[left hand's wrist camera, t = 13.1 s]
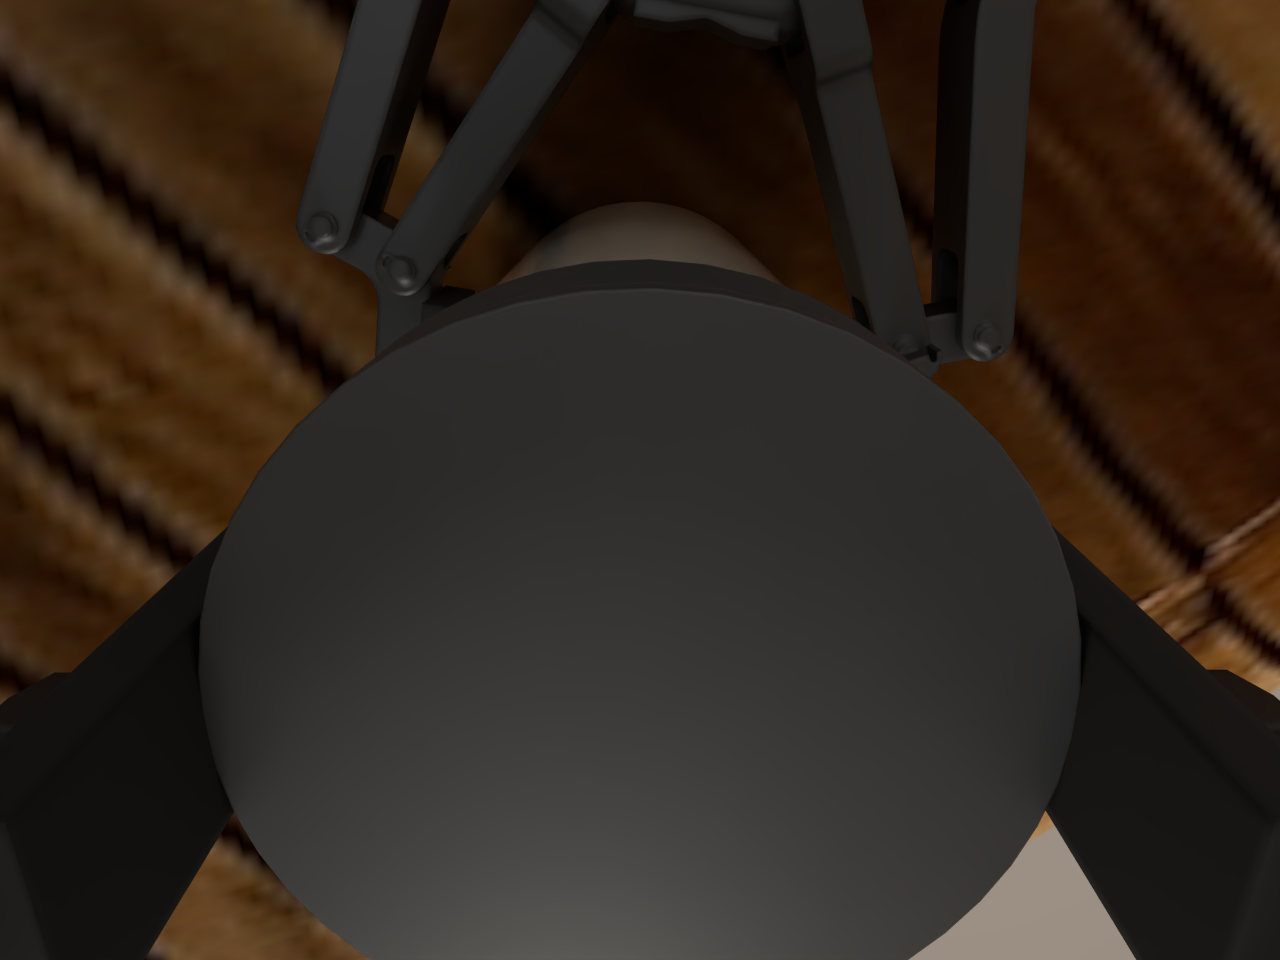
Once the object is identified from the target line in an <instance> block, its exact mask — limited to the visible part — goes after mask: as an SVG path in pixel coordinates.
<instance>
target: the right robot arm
mask: <svg viewBox="0 0 1280 960" xmlns="http://www.w3.org/2000/svg"><path fill="white" fill-rule="evenodd" d="M1037 1H1038V0H947V1H946V5H945V9H944V15H943V20H942V25H941V33H940V45H939V67H938V99H937V130H936V162H935V193H934V225H933V256H932V288H931V303H930V304H924V305H923V302H922V298H921V293H920V289H919V284H918V280H917V275H916V271H915V266H914V262H913V257H912V253H911V248H910V244H909V239H908V235H907V230H906V226H905V221H904V217H903V212H902V208H901V203H900V199H899V194H898V190H897V185H896V181H895V176H894V172H893V167H892V163H891V158H890V154H889V149H888V145H887V140H886V136H885V131H884V127H883V122H882V118H881V113H880V109H879V104H878V100H877V95H876V91H875V86H874V82H873V76H872V63H873V52H872V45H871V39H870V35H869V30H868V25H867V21H866V16H865V12H864V7H863V3H862V0H537V1H536V4H535V6H534V9H533V11H532V13H531V14H530V16H529V18H528V19H527V21H526V22H525V24H524V25H523V27H522V29H521V30H520V32H519V33H518V35H517V36H516V38H515V40H514V41H513V43H512V44H511V46H510V47H509V49H508V51H507V52H506V54H505V55H504V57H503V58H502V60H501V62H500V63H499V65H498V66H497V68H496V69H495V71H494V73H493V74H492V76H491V77H490V79H489V80H488V82H487V84H486V85H485V87H484V88H483V90H482V91H481V93H480V95H479V96H478V98H477V99H476V101H475V102H474V104H473V106H472V107H471V109H470V110H469V112H468V113H467V115H466V117H465V118H464V120H463V121H462V123H461V124H460V126H459V128H458V129H457V131H456V132H455V134H454V136H453V137H452V139H451V140H450V142H449V143H448V145H447V147H446V148H445V150H444V151H443V153H442V154H441V156H440V158H439V159H438V161H437V162H436V164H435V165H434V167H433V169H432V170H431V172H430V173H429V175H428V176H427V178H426V180H425V181H424V183H423V184H422V186H421V187H420V189H419V191H418V192H417V194H416V195H415V197H414V198H413V200H412V202H411V203H410V205H409V206H408V208H407V209H406V211H405V213H404V214H403V216H402V217H401V219H400V220H398V219H396V218H395V217H393V216H391V215H389V214H387V213H386V212H384V208H385V205H386V202H387V199H388V196H389V192H390V189H391V186H392V183H393V180H394V177H395V173H396V170H397V167H398V164H399V161H400V158H401V154H402V151H403V148H404V145H405V142H406V139H407V136H408V132H409V129H410V126H411V123H412V120H413V117H414V113H415V110H416V107H417V104H418V101H419V98H420V94H421V91H422V88H423V85H424V82H425V79H426V75H427V72H428V69H429V66H430V63H431V60H432V56H433V53H434V50H435V47H436V44H437V41H438V38H439V34H440V31H441V28H442V25H443V22H444V19H445V15H446V12H447V9H448V6H449V3H450V0H358V2H357V5H356V9H355V12H354V16H353V19H352V23H351V27H350V30H349V34H348V37H347V41H346V44H345V48H344V51H343V55H342V58H341V62H340V65H339V69H338V72H337V76H336V80H335V83H334V87H333V90H332V94H331V97H330V101H329V104H328V108H327V111H326V115H325V118H324V122H323V125H322V129H321V133H320V136H319V140H318V143H317V147H316V150H315V154H314V157H313V161H312V164H311V168H310V171H309V175H308V178H307V182H306V185H305V189H304V193H303V196H302V200H301V203H300V207H299V210H298V214H297V221H296V228H297V231H298V234H299V237H300V239H301V240H302V241H303V243H304V244H305V245H306V246H307V247H308V248H310V249H311V250H313V251H314V252H317V253H322V254H332V255H334V256H335V257H337V258H339V259H341V260H343V261H345V262H347V263H348V264H350V265H352V266H354V267H356V268H358V269H359V270H361V271H362V272H363V273H365V274H366V275H367V276H368V277H369V279H370V280H371V281H372V283H373V285H374V286H375V289H376V292H377V295H378V317H377V334H376V352H375V356H377V355H379V354H380V353H381V352H382V351H384V350H385V349H386V348H387V347H388V346H390V345H391V344H392V343H393V342H395V341H396V340H397V339H399V338H400V337H402V336H403V335H405V334H406V333H408V332H409V331H411V330H412V329H414V328H415V327H417V326H418V325H420V324H421V323H423V322H424V321H426V320H427V319H429V318H430V317H432V316H433V315H435V314H436V313H438V312H439V311H441V310H443V309H445V308H447V307H449V306H451V305H454V304H456V303H458V302H460V301H462V300H464V299H466V298H468V297H470V296H472V295H474V294H475V290H469V289H463V288H457V287H451V286H445V287H444V288H442V287H443V275H444V273H446V272H447V271H448V270H449V269H450V268H451V267H450V266H449V265H450V263H451V262H452V260H453V259H454V257H455V256H456V254H457V253H458V251H459V250H460V248H461V247H462V245H463V244H464V242H465V241H466V239H467V238H468V236H469V235H470V233H471V232H472V230H473V229H474V227H475V226H476V224H477V223H478V221H479V220H480V218H481V217H482V215H483V214H484V212H485V211H486V209H487V208H488V206H489V205H490V203H491V202H492V200H493V199H494V197H495V196H496V194H497V193H498V191H499V190H500V188H501V187H502V185H503V184H504V182H505V181H506V179H507V178H508V176H509V175H510V173H511V172H512V170H513V169H514V167H515V166H516V164H517V163H518V161H519V160H520V158H521V157H522V155H523V154H524V152H525V151H526V149H527V148H528V146H529V145H530V143H531V142H532V140H533V139H534V137H535V136H536V134H537V133H538V131H539V130H540V128H541V127H542V125H543V124H544V122H545V121H546V119H547V118H548V116H549V115H550V113H551V112H552V110H553V109H554V107H555V106H556V104H557V103H558V101H559V100H560V98H561V97H562V95H563V94H564V92H565V91H566V89H567V88H568V86H569V85H570V83H571V82H572V80H573V79H574V77H575V76H576V74H577V73H578V71H579V70H580V68H581V67H582V65H583V64H584V62H585V61H586V60H587V58H588V57H589V56H590V55H591V54H592V53H593V51H594V50H595V49H596V47H597V46H598V45H599V43H600V42H601V40H602V39H603V37H604V36H605V34H606V33H607V31H608V30H609V28H610V27H611V25H612V24H613V22H614V21H615V19H616V18H617V16H618V15H619V14H620V15H622V16H623V17H624V18H626V19H628V20H630V21H632V22H633V23H634V27H636V28H642V29H647V30H653V31H658V32H663V33H671V32H680V31H689V30H697V29H701V30H704V31H706V32H708V33H710V34H712V35H714V36H716V37H718V38H720V39H722V40H724V41H726V42H728V43H730V44H732V45H735V46H740V47H746V48H751V49H757V50H762V51H766V50H767V49H768V48H770V47H774V46H779V45H781V48H782V52H783V56H784V60H785V64H786V68H787V72H788V76H789V79H790V82H791V85H792V88H793V90H794V91H795V93H796V95H797V98H798V101H799V105H800V109H801V113H802V117H803V121H804V125H805V129H806V133H807V137H808V141H809V145H810V149H811V153H812V157H813V161H814V165H815V168H816V172H817V176H818V180H819V184H820V188H821V192H822V196H823V200H824V204H825V208H826V212H827V216H828V220H829V224H830V228H831V232H832V236H833V240H834V244H835V248H836V252H837V256H838V260H839V264H840V268H841V272H842V276H843V280H844V284H845V288H846V292H847V296H848V300H849V304H850V308H851V312H852V316H853V320H855V321H857V322H858V323H860V324H861V325H862V326H864V327H865V328H866V329H868V330H869V331H870V332H872V333H873V334H874V335H876V336H877V337H878V338H880V339H881V340H882V341H884V342H885V343H886V344H888V345H889V346H890V347H892V348H893V349H894V350H896V351H897V352H898V353H900V354H901V355H902V356H903V357H905V358H906V359H907V360H908V361H910V362H911V363H912V364H913V365H914V366H916V367H917V368H918V369H919V370H921V371H922V372H923V373H924V374H926V375H927V376H928V377H929V378H930V379H931V378H932V377H933V375H934V374H935V373H936V372H937V371H938V369H939V367H940V364H943V363H948V362H954V361H959V360H965V359H970V358H973V359H975V360H977V361H985V362H987V361H990V360H994V359H997V358H998V357H1000V356H1001V355H1002V354H1004V353H1005V352H1006V350H1007V349H1008V348H1009V346H1010V345H1011V342H1012V338H1013V333H1014V318H1015V303H1016V288H1017V273H1018V258H1019V242H1020V227H1021V212H1022V197H1023V182H1024V167H1025V152H1026V136H1027V121H1028V106H1029V91H1030V76H1031V61H1032V45H1033V30H1034V15H1035V6H1036V3H1037Z"/></svg>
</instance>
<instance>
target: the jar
mask: <svg viewBox="0 0 1280 960" xmlns="http://www.w3.org/2000/svg"><path fill="white" fill-rule="evenodd" d="M641 259H654V260H665V261H676V262H687V263H698V264H707V265H711V266H716V267H720V268H724V269H729V270H733V271H737V272H742V273H746V274H750V275H755V276H759V277H762V278H764V279H767V280H770V281H772V282H775V283H778V284H780V285H783V284H782V283H781V282H780V281H779V280H778V279H777V278H776V277H775V276H774V275H773V274H772V273H771V272H770V271H769V270H768V269H767V268H766V267H765V266H764V265H763V264H762V263H761V262H760V261H759V260H758V259H757V258H756V257H755V256H754V255H753V254H752V253H751V252H750V251H749V250H748V249H747V248H746V247H745V246H744V245H743V244H741V243H740V242H739V241H738V240H737V239H736V238H735V237H734V236H733V235H731V234H730V233H729V232H727V231H726V230H725V229H724V228H722V227H721V226H719V225H718V224H716V223H714V222H712V221H711V220H709V219H707V218H706V217H704V216H701V215H699V214H697V213H694V212H692V211H689V210H687V209H684V208H680V207H676V206H672V205H668V204H662V203H653V202H624V203H617V204H611V205H606V206H602V207H599V208H596V209H592V210H589V211H586V212H584V213H582V214H580V215H578V216H576V217H573V218H571V219H569V220H568V221H566V222H564V223H563V224H561V225H560V226H558V227H557V228H555V229H553V230H552V231H551V232H550V233H549V234H547V235H546V236H545V237H544V238H543V239H542V240H540V241H539V242H538V243H537V244H536V245H535V246H534V247H533V248H532V249H531V250H530V251H529V252H528V253H527V254H526V255H525V256H524V257H523V258H522V259H521V260H520V261H519V262H518V263H517V264H516V265H515V266H514V267H513V268H512V269H511V270H510V271H509V272H508V273H507V274H506V275H505V276H504V277H503V278H502V279H501V280H500V281H499V282H498V283H497V284H496V285H499V284H502V283H505V282H508V281H511V280H514V279H517V278H520V277H523V276H526V275H530V274H533V273H536V272H539V271H544V270H549V269H555V268H561V267H566V266H572V265H577V264H583V263H589V262H594V261H618V260H641ZM496 285H495V286H496ZM783 286H784V285H783Z"/></svg>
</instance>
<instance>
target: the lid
mask: <svg viewBox="0 0 1280 960" xmlns="http://www.w3.org/2000/svg"><path fill="white" fill-rule="evenodd" d="M198 680H199V690H200V697H201V703H202V708H203V713H204V719H205V724H206V728H207V732H208V737H209V741H210V746H211V750H212V755H213V759H214V764H215V768H216V771H217V773H218V775H219V778H220V780H221V782H222V785H223V787H224V789H225V792H226V794H227V797H228V799H229V801H230V804H231V806H232V808H233V811H234V812H235V814H236V816H237V817H238V819H239V821H240V822H241V824H242V826H243V827H244V829H245V831H246V832H247V834H248V836H249V837H250V839H251V841H252V843H253V844H254V846H255V848H256V849H257V851H258V852H259V854H260V855H261V856H262V857H263V859H264V860H265V861H266V862H267V864H268V865H269V866H270V868H271V869H272V870H273V871H274V873H275V874H276V875H277V876H278V878H279V879H280V880H281V881H282V883H283V884H284V885H285V886H286V888H287V889H288V890H289V891H290V892H291V893H292V894H293V895H294V896H295V897H296V898H297V899H298V900H299V901H300V902H301V903H302V904H303V905H304V906H305V907H306V908H307V909H308V910H309V911H310V912H311V913H312V914H313V915H314V916H315V917H316V918H317V919H318V920H319V921H320V922H321V923H323V924H324V925H325V926H327V927H328V928H329V929H330V930H332V931H333V932H334V933H336V934H337V935H338V936H339V937H341V938H342V939H343V940H344V941H346V942H347V943H348V944H350V945H351V946H352V947H353V948H355V949H356V950H357V951H359V952H360V953H362V954H363V955H365V956H367V957H368V958H370V959H371V960H908V959H910V958H911V957H913V956H914V955H915V954H917V953H918V952H920V951H921V950H922V949H924V948H925V947H927V946H928V945H929V944H931V943H932V942H934V941H935V940H936V939H938V938H939V937H940V936H942V935H943V934H945V933H946V932H947V931H948V930H949V929H950V928H951V927H952V926H953V925H955V924H956V923H957V922H958V921H959V920H960V919H961V918H962V917H963V916H965V915H966V914H967V913H968V912H969V911H970V910H971V909H972V908H973V907H975V906H976V905H977V904H978V903H979V902H980V901H981V900H982V899H983V898H984V896H985V895H986V894H987V893H988V892H989V891H990V889H991V888H992V887H993V886H994V885H995V884H996V882H997V881H998V880H999V879H1000V878H1001V877H1002V876H1003V874H1004V873H1005V872H1006V871H1007V870H1008V869H1009V868H1010V866H1011V865H1012V864H1013V862H1014V861H1015V859H1016V858H1017V856H1018V855H1019V853H1020V852H1021V850H1022V849H1023V847H1024V846H1025V844H1026V843H1027V841H1028V840H1029V838H1030V837H1031V835H1032V834H1033V832H1034V831H1035V829H1036V828H1037V826H1038V824H1039V822H1040V820H1041V818H1042V816H1043V814H1044V812H1045V810H1046V808H1047V806H1048V804H1049V802H1050V800H1051V797H1052V795H1053V793H1054V791H1055V789H1056V787H1057V785H1058V783H1059V780H1060V777H1061V774H1062V771H1063V767H1064V764H1065V761H1066V758H1067V754H1068V750H1069V746H1070V742H1071V737H1072V732H1073V727H1074V722H1075V717H1076V712H1077V707H1078V702H1079V697H1080V692H1081V634H1080V627H1079V620H1078V614H1077V607H1076V601H1075V594H1074V588H1073V585H1072V581H1071V578H1070V575H1069V572H1068V569H1067V566H1066V563H1065V560H1064V557H1063V554H1062V550H1061V547H1060V544H1059V541H1058V538H1057V536H1056V534H1055V532H1054V530H1053V528H1052V526H1051V524H1050V522H1049V520H1048V518H1047V516H1046V514H1045V512H1044V510H1043V508H1042V506H1041V504H1040V502H1039V501H1038V499H1037V497H1036V495H1035V493H1034V491H1033V489H1032V487H1031V486H1030V485H1029V483H1028V482H1027V480H1026V479H1025V478H1024V476H1023V475H1022V474H1021V472H1020V471H1019V469H1018V468H1017V467H1016V465H1015V464H1014V463H1013V461H1012V460H1011V458H1010V457H1009V456H1008V454H1007V453H1006V452H1005V450H1004V449H1003V447H1002V446H1001V445H1000V443H999V442H998V441H997V440H996V439H995V438H994V437H993V436H992V435H991V434H990V433H989V432H988V431H987V430H986V429H985V428H984V427H983V426H982V425H981V424H980V423H979V422H978V421H977V420H976V419H975V418H974V417H973V416H972V415H971V414H970V413H969V412H968V411H967V410H966V409H965V408H964V407H963V406H962V405H961V404H960V403H959V402H958V401H957V400H956V399H955V398H954V397H953V396H951V395H950V394H949V393H948V392H946V391H945V390H944V389H943V388H942V387H940V386H939V385H938V384H937V383H935V382H934V381H933V380H932V379H930V378H929V377H928V376H927V375H926V374H924V373H923V372H922V371H921V370H919V369H918V368H917V367H916V366H914V365H913V364H912V363H911V362H910V361H908V360H907V359H906V358H905V357H903V356H902V355H901V354H900V353H898V352H897V351H896V350H894V349H893V348H892V347H890V346H889V345H888V344H886V343H885V342H884V341H882V340H881V339H880V338H878V337H877V336H876V335H874V334H873V333H872V332H870V331H869V330H868V329H866V328H865V327H864V326H862V325H861V324H860V323H858V322H857V321H855V320H853V319H852V318H850V317H848V316H846V315H844V314H842V313H841V312H839V311H837V310H835V309H833V308H832V307H830V306H828V305H826V304H824V303H822V302H821V301H819V300H817V299H815V298H813V297H811V296H809V295H807V294H804V293H801V292H799V291H796V290H793V289H791V288H788V287H786V286H783V285H780V284H778V283H775V282H772V281H770V280H767V279H764V278H762V277H759V276H755V275H750V274H746V273H742V272H737V271H733V270H729V269H724V268H720V267H716V266H711V265H707V264H698V263H687V262H676V261H665V260H654V259H641V260H618V261H594V262H589V263H583V264H577V265H572V266H566V267H561V268H555V269H549V270H544V271H539V272H536V273H533V274H530V275H526V276H523V277H520V278H517V279H514V280H511V281H508V282H505V283H502V284H499V285H496V286H492V287H489V288H487V289H485V290H483V291H480V292H478V293H476V294H474V295H472V296H470V297H468V298H466V299H464V300H462V301H460V302H458V303H456V304H454V305H451V306H449V307H447V308H445V309H443V310H441V311H439V312H438V313H436V314H435V315H433V316H432V317H430V318H429V319H427V320H426V321H424V322H423V323H421V324H420V325H418V326H417V327H415V328H414V329H412V330H411V331H409V332H408V333H406V334H405V335H403V336H402V337H400V338H399V339H397V340H396V341H395V342H393V343H392V344H391V345H390V346H388V347H387V348H386V349H385V350H384V351H382V352H381V353H380V354H379V355H377V356H376V357H375V358H374V359H373V360H371V361H370V362H369V363H368V364H366V365H365V366H364V367H363V368H361V369H360V370H359V371H358V372H357V373H355V374H354V375H353V376H352V377H351V378H349V379H348V380H347V381H346V382H344V383H343V384H342V385H341V386H340V387H338V388H337V389H336V390H335V391H334V392H333V393H332V394H331V395H330V396H328V397H327V398H326V399H325V400H324V401H323V402H322V403H321V404H320V405H318V406H317V407H316V408H315V409H314V410H313V411H312V412H311V413H310V414H309V415H307V416H306V417H305V418H304V419H303V420H302V421H301V422H300V423H299V424H297V425H296V426H295V427H294V429H293V430H292V431H291V432H290V434H289V435H288V436H287V437H286V439H285V440H284V441H283V442H282V443H281V445H280V446H279V447H278V448H277V450H276V451H275V452H274V453H273V454H272V456H271V457H270V458H269V459H268V461H267V462H266V463H265V464H264V465H263V467H262V468H261V469H260V470H259V472H258V473H257V475H256V477H255V478H254V480H253V482H252V484H251V485H250V487H249V489H248V490H247V492H246V494H245V496H244V497H243V499H242V501H241V502H240V504H239V506H238V508H237V509H236V511H235V513H234V514H233V516H232V518H231V520H230V522H229V525H228V527H227V530H226V532H225V535H224V538H223V540H222V543H221V545H220V548H219V550H218V553H217V556H216V558H215V561H214V563H213V566H212V568H211V572H210V577H209V582H208V586H207V591H206V596H205V600H204V605H203V610H202V614H201V619H200V635H199V654H198Z"/></svg>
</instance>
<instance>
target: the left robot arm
mask: <svg viewBox="0 0 1280 960" xmlns="http://www.w3.org/2000/svg"><path fill="white" fill-rule="evenodd" d="M1051 526H1052V525H1051ZM1052 528H1053V530H1054V532H1055V534H1056V536H1057V538H1058V541H1059V544H1060V547H1061V550H1062V554H1063V557H1064V560H1065V563H1066V566H1067V569H1068V572H1069V575H1070V578H1071V581H1072V585H1073V588H1074V594H1075V601H1076V607H1077V614H1078V620H1079V627H1080V634H1081V692H1080V697H1079V702H1078V707H1077V712H1076V717H1075V722H1074V727H1073V732H1072V737H1071V742H1070V746H1069V750H1068V754H1067V758H1066V761H1065V764H1064V767H1063V771H1062V774H1061V777H1060V780H1059V783H1058V785H1057V787H1056V789H1055V791H1054V793H1053V795H1052V797H1051V800H1050V802H1049V804H1048V806H1047V808H1046V812H1047V813H1048V815H1049V817H1050V818H1051V820H1052V822H1053V823H1054V825H1055V826H1056V828H1057V830H1058V831H1059V833H1060V835H1061V836H1062V838H1063V840H1064V841H1065V843H1066V845H1067V846H1068V848H1069V850H1070V851H1071V853H1072V854H1073V856H1074V858H1075V859H1076V861H1077V863H1078V864H1079V866H1080V868H1081V869H1082V871H1083V873H1084V874H1085V876H1086V878H1087V879H1088V881H1089V883H1090V884H1091V886H1092V887H1093V889H1094V891H1095V892H1096V894H1097V896H1098V897H1099V899H1100V901H1101V902H1102V904H1103V906H1104V907H1105V909H1106V910H1107V912H1108V914H1109V915H1110V917H1111V919H1112V920H1113V922H1114V924H1115V925H1116V927H1117V929H1118V930H1119V932H1120V934H1121V935H1122V937H1123V939H1124V940H1125V942H1126V943H1127V945H1128V947H1129V948H1130V950H1131V952H1132V953H1133V955H1134V957H1135V958H1136V960H1280V701H1279V700H1278V699H1277V698H1276V697H1275V696H1274V695H1272V694H1270V693H1268V692H1267V691H1265V690H1263V689H1261V688H1259V687H1257V686H1256V685H1254V684H1252V683H1250V682H1248V681H1246V680H1245V679H1243V678H1241V677H1239V676H1237V675H1235V674H1234V673H1232V672H1230V671H1228V670H1206V669H1205V668H1204V667H1203V666H1202V665H1201V664H1200V663H1199V662H1198V661H1197V660H1195V659H1194V658H1193V657H1192V656H1191V655H1190V654H1189V653H1188V652H1187V651H1186V650H1185V649H1184V648H1183V647H1182V646H1180V645H1179V644H1178V643H1177V642H1176V641H1175V640H1174V639H1173V638H1172V637H1171V636H1170V635H1169V634H1168V633H1166V632H1165V631H1164V630H1163V629H1162V628H1161V627H1160V626H1159V625H1158V624H1157V623H1156V622H1155V621H1154V620H1153V619H1151V618H1150V617H1149V616H1148V615H1147V614H1146V613H1145V612H1144V611H1143V610H1142V609H1141V608H1140V607H1139V606H1137V605H1136V604H1135V603H1134V602H1133V601H1132V600H1131V599H1130V598H1129V597H1128V596H1127V595H1126V594H1125V593H1124V592H1122V591H1121V590H1120V589H1119V588H1118V587H1117V586H1116V585H1115V584H1114V583H1113V582H1112V581H1111V580H1110V579H1109V578H1107V577H1106V576H1105V575H1104V574H1103V573H1102V572H1101V571H1100V570H1099V569H1098V568H1097V567H1096V566H1095V565H1093V564H1092V563H1091V562H1090V561H1089V560H1088V559H1087V558H1086V557H1085V556H1084V555H1083V554H1082V553H1081V552H1080V551H1078V550H1077V549H1076V548H1075V547H1074V546H1073V545H1072V544H1071V543H1070V542H1069V541H1068V540H1067V539H1066V538H1064V537H1063V536H1062V535H1061V534H1060V533H1059V532H1058V531H1057V530H1056V529H1055V528H1054V527H1053V526H1052ZM226 530H227V528H226V529H225V530H224V531H222V532H221V533H220V534H219V535H218V536H217V537H216V538H215V539H214V540H213V541H212V542H211V543H210V544H208V545H207V546H206V547H205V548H204V549H203V550H202V551H201V552H200V553H199V554H198V555H197V556H196V557H195V558H193V559H192V560H191V561H190V562H189V563H188V564H187V565H186V566H185V567H184V568H183V569H182V570H181V571H180V572H178V573H177V574H176V575H175V576H174V577H173V578H172V579H171V580H170V581H169V582H168V583H167V584H166V585H164V586H163V587H162V588H161V589H160V590H159V591H158V592H157V593H156V594H155V595H154V596H153V597H152V598H151V599H149V600H148V601H147V602H146V603H145V604H144V605H143V606H142V607H141V608H140V609H139V610H138V611H137V612H136V613H134V614H133V615H132V616H131V617H130V618H129V619H128V620H127V621H126V622H125V623H124V624H123V625H122V626H120V627H119V628H118V629H117V630H116V631H115V632H114V633H113V634H112V635H111V636H110V637H109V638H108V639H107V640H105V641H104V642H103V643H102V644H101V645H100V646H99V647H98V648H97V649H96V650H95V651H94V652H93V653H91V654H90V655H89V656H88V657H87V658H86V659H85V660H84V661H83V662H82V663H81V664H80V665H79V666H78V667H76V668H75V669H74V670H73V671H72V672H71V673H53V674H51V675H49V676H48V677H46V678H44V679H42V680H40V681H39V682H37V683H35V684H33V685H31V686H30V687H28V688H26V689H24V690H22V691H20V692H19V693H17V694H15V695H13V696H11V697H10V698H8V699H7V700H6V701H4V702H3V703H2V704H1V705H0V960H144V959H145V957H146V956H147V954H148V953H149V951H150V949H151V948H152V946H153V944H154V943H155V941H156V939H157V938H158V936H159V934H160V933H161V931H162V929H163V928H164V926H165V925H166V923H167V921H168V920H169V918H170V916H171V915H172V913H173V911H174V910H175V908H176V906H177V905H178V903H179V901H180V900H181V898H182V897H183V895H184V893H185V892H186V890H187V888H188V887H189V885H190V883H191V882H192V880H193V878H194V877H195V875H196V873H197V872H198V870H199V868H200V867H201V865H202V864H203V862H204V860H205V859H206V857H207V855H208V854H209V852H210V850H211V849H212V847H213V845H214V844H215V842H216V840H217V839H218V837H219V836H220V834H221V832H222V831H223V829H224V827H225V826H226V824H227V822H228V821H229V819H230V817H231V816H232V814H233V812H234V811H233V808H232V806H231V804H230V801H229V799H228V797H227V794H226V792H225V789H224V787H223V785H222V782H221V780H220V778H219V775H218V773H217V771H216V768H215V764H214V759H213V755H212V750H211V746H210V741H209V737H208V732H207V728H206V724H205V719H204V713H203V708H202V703H201V697H200V690H199V680H198V654H199V635H200V619H201V614H202V610H203V605H204V600H205V596H206V591H207V586H208V582H209V577H210V572H211V568H212V566H213V563H214V561H215V558H216V556H217V553H218V550H219V548H220V545H221V543H222V540H223V538H224V535H225V532H226Z"/></svg>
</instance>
